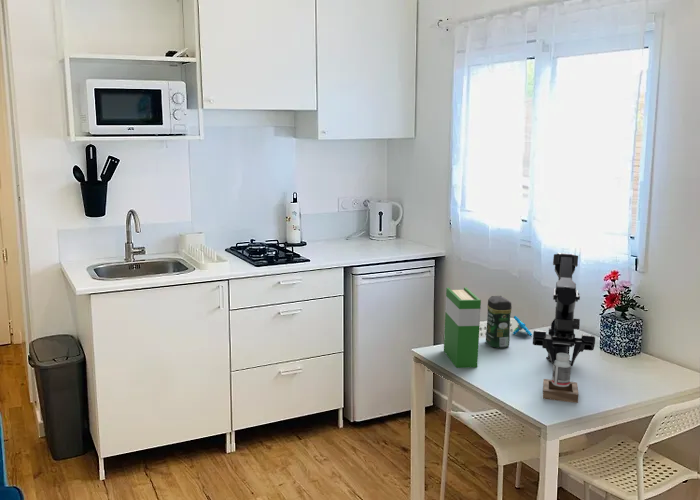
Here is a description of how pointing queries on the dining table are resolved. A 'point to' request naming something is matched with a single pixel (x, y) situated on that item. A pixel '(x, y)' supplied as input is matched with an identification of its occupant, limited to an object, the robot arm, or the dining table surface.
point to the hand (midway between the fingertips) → (562, 364)
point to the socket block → (560, 392)
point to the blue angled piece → (521, 327)
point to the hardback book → (462, 327)
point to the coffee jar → (498, 322)
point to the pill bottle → (561, 370)
